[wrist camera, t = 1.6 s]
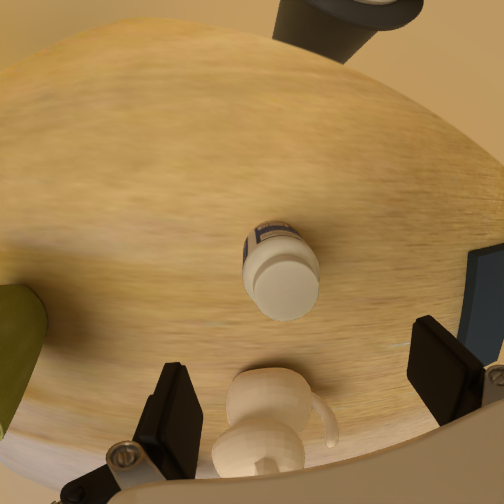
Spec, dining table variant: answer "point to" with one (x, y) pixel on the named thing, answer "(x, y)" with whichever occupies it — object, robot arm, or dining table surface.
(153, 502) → the robot arm
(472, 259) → the foam pad
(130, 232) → the dining table surface
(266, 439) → the cat figurine
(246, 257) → the pill bottle
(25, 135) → the dining table surface
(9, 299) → the flower pot
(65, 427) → the dining table surface
